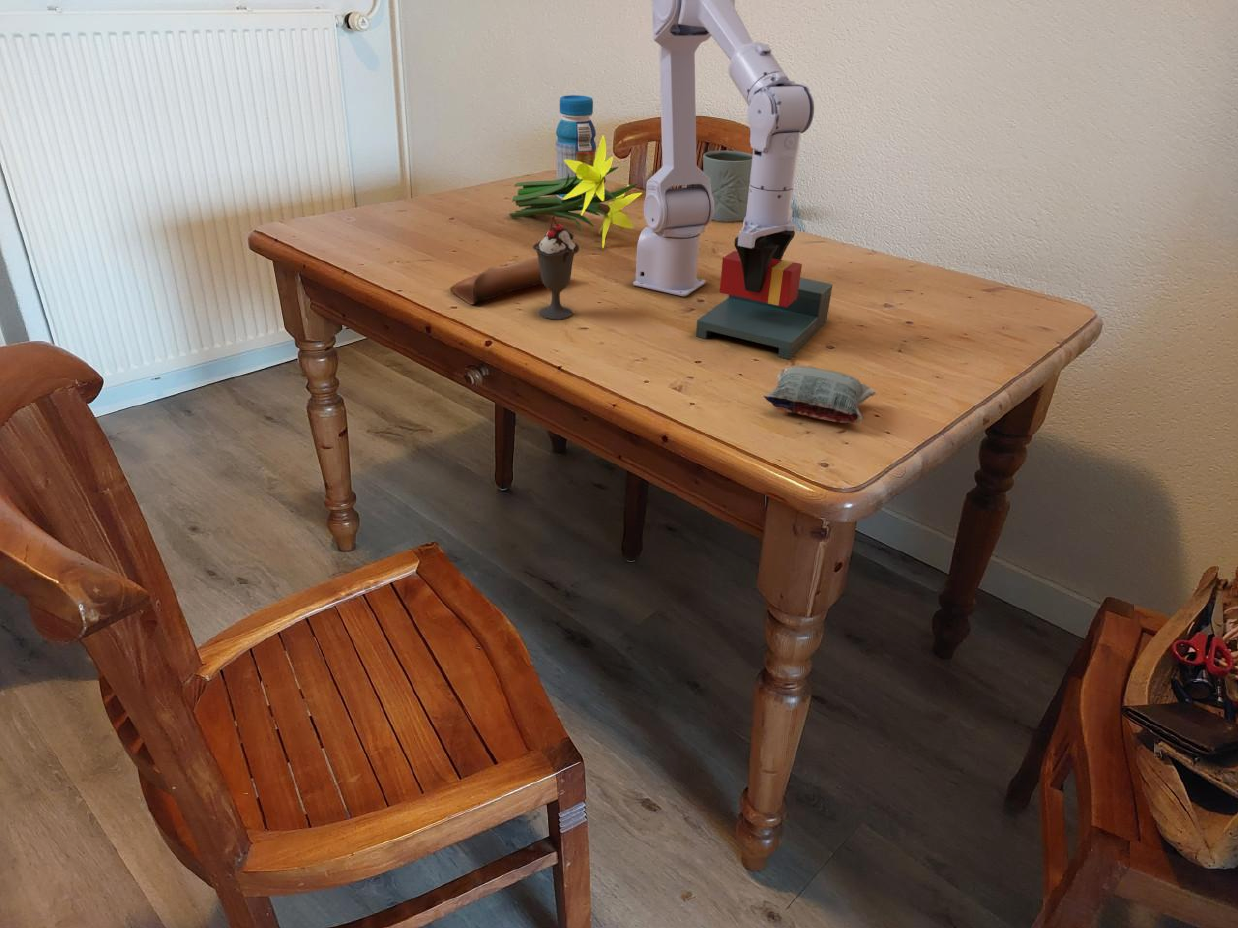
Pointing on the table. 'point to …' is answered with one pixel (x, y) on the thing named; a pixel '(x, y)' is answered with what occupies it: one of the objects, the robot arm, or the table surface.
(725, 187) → the sage green ceramic cup
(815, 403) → the packaged food
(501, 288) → the sunglasses case
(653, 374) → the table surface
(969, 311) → the table surface
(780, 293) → the candy bar
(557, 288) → the sundae
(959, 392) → the table surface
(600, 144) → the daffodil flowers
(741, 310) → the shelf rack
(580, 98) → the beverage bottle
